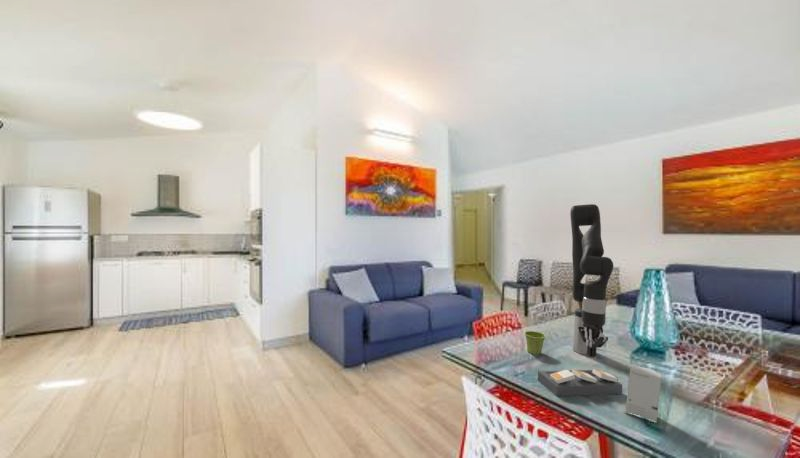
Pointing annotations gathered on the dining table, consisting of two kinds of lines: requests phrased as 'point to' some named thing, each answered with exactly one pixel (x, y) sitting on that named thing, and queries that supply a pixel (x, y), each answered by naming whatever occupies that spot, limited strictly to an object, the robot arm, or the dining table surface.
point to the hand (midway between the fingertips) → (591, 356)
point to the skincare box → (643, 392)
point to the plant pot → (534, 341)
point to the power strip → (579, 385)
